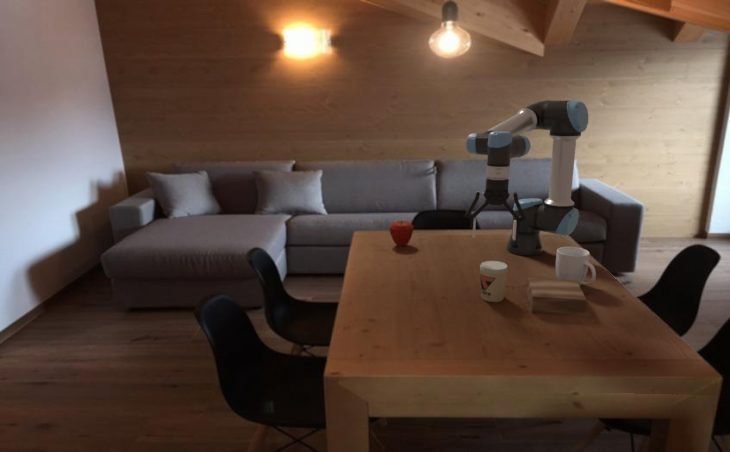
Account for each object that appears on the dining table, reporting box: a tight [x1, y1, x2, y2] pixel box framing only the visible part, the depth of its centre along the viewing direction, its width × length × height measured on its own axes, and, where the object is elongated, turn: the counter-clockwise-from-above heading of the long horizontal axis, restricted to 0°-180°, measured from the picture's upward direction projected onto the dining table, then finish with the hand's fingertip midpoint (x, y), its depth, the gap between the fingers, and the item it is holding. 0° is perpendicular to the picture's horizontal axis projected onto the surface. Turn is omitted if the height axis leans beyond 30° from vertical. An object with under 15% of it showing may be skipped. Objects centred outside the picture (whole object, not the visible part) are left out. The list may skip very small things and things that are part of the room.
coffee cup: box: [479, 260, 509, 303], centre depth 172 cm, size 9×9×12 cm
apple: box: [389, 220, 414, 247], centre depth 230 cm, size 11×11×12 cm
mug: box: [555, 246, 597, 287], centre depth 180 cm, size 15×11×13 cm
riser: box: [526, 277, 587, 318], centre depth 166 cm, size 16×16×6 cm
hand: (493, 238), depth 174 cm, fingers open, 13 cm apart
